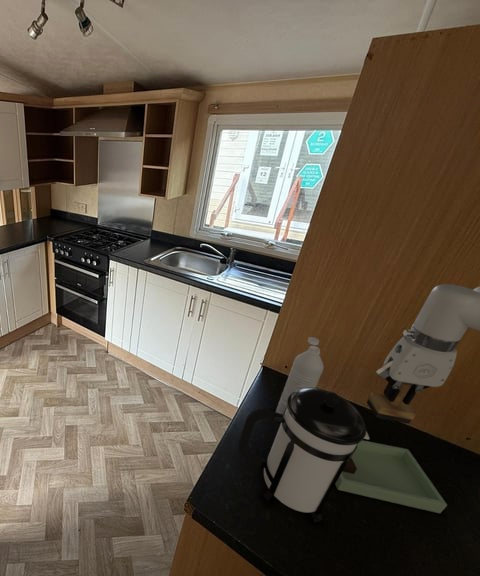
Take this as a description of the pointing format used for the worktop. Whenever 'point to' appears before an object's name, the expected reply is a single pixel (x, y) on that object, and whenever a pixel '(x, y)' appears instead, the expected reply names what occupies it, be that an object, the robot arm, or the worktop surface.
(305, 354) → the water bottle
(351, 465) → the brown square block
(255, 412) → the coffee press
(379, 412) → the brush
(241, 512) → the worktop surface
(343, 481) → the tray
